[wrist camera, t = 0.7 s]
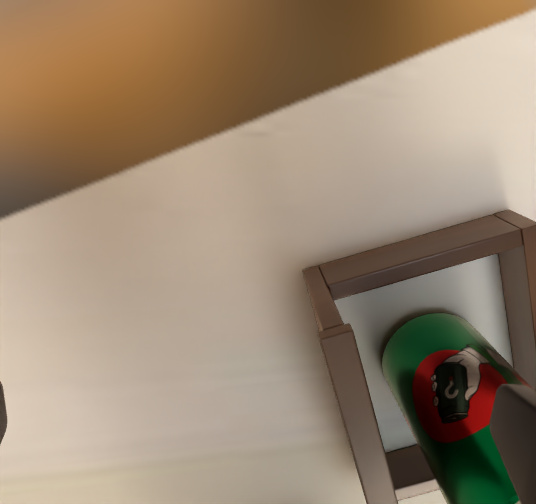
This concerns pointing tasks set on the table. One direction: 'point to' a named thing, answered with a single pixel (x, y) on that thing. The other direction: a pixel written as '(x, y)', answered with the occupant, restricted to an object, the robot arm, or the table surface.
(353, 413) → the spice rack
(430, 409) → the soda can
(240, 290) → the table surface
